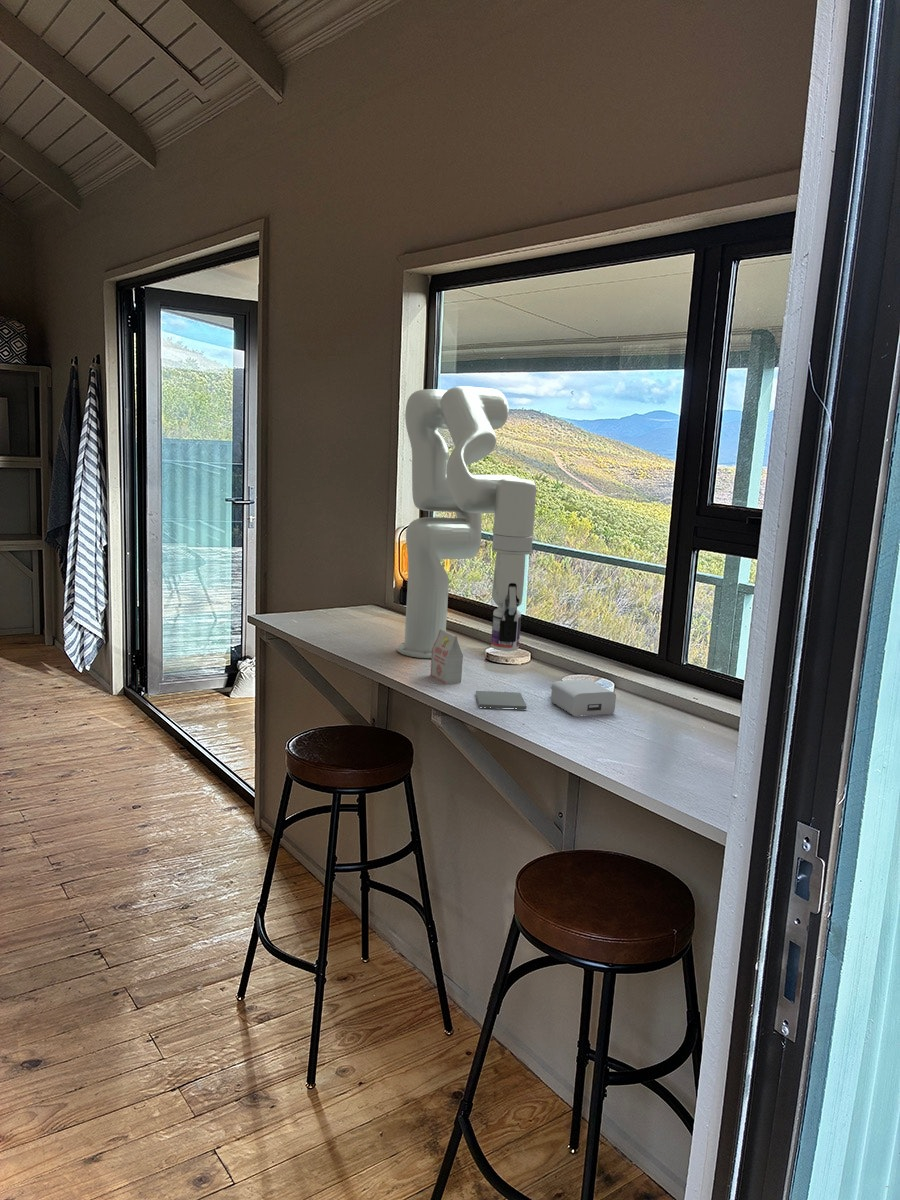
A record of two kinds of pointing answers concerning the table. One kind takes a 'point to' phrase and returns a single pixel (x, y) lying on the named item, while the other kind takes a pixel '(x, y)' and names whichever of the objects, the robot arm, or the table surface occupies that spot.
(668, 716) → the table surface
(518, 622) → the pill bottle
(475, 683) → the table surface
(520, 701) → the coaster
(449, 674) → the milk carton
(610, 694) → the charger
